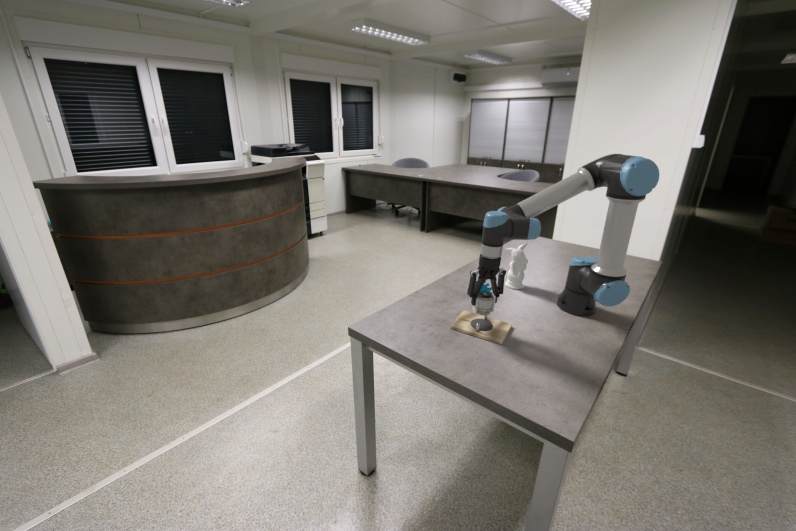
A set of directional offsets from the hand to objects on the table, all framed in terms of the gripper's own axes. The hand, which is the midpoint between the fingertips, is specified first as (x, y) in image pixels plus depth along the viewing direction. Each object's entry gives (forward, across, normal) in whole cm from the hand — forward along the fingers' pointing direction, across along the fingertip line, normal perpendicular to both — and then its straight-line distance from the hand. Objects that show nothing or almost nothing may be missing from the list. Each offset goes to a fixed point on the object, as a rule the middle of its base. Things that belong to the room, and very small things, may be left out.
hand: (482, 311), depth 134 cm
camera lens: (+1, 0, 0) cm, 1 cm away
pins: (+6, 0, 0) cm, 6 cm away
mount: (+7, 0, 0) cm, 7 cm away
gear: (+8, -13, -23) cm, 28 cm away
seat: (+6, 0, 0) cm, 6 cm away
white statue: (+7, -33, -32) cm, 47 cm away
